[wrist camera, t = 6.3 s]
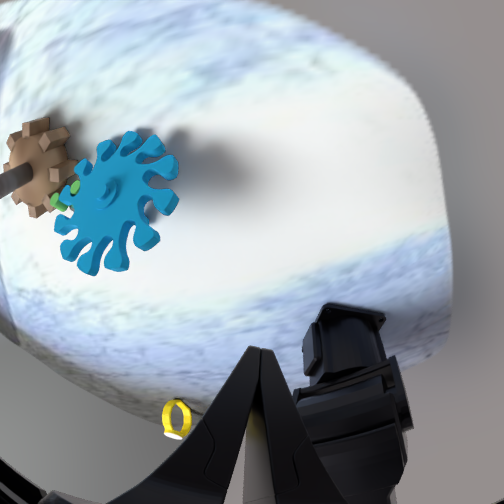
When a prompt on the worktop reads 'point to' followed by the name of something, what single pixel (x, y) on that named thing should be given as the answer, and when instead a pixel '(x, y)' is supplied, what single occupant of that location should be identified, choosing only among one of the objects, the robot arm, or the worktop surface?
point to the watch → (167, 419)
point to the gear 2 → (114, 202)
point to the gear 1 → (36, 166)
